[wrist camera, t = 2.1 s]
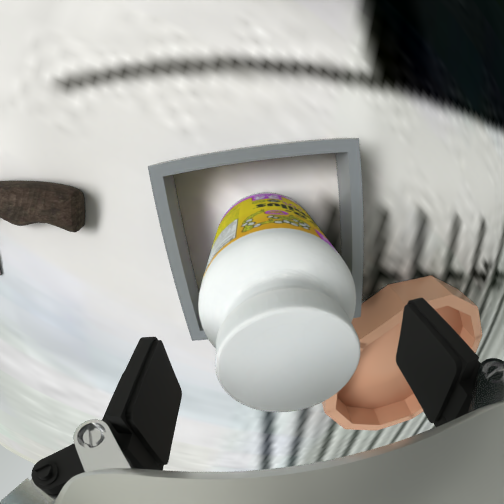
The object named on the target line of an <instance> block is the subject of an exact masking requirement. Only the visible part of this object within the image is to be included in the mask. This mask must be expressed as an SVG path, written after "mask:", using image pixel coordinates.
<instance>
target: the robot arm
mask: <svg viewBox="0 0 504 504" xmlns="http://www.w3.org/2000/svg"><path fill="white" fill-rule="evenodd" d="M478 359H479V357H478V356H477V355H476V354H475V352H474V351H473V350H472V349H471V348H470V347H469V346H468V345H467V343H466V342H465V341H464V340H463V339H462V338H461V337H460V336H459V335H458V334H457V332H456V331H455V330H454V329H453V328H452V327H451V326H450V325H449V324H448V323H447V322H446V321H445V320H444V319H443V318H442V317H441V316H440V315H439V313H438V312H437V311H436V310H435V309H434V308H433V307H432V306H431V305H430V304H429V303H428V302H427V301H426V300H425V299H424V298H417V299H413V300H409V301H408V303H407V305H405V306H404V311H403V318H402V325H401V331H400V337H399V343H398V348H397V353H396V363H397V366H398V367H399V369H400V371H401V372H402V374H403V376H404V377H405V379H406V381H407V383H408V384H409V386H410V388H411V389H412V391H413V393H414V395H415V396H416V398H417V400H418V402H419V404H420V405H421V407H422V409H423V411H424V413H425V414H426V416H427V418H428V420H429V421H430V422H431V423H434V424H435V426H436V427H435V428H433V429H430V430H428V431H425V432H423V433H420V434H418V435H415V436H412V437H410V438H407V439H404V440H401V441H398V442H395V443H392V444H389V445H386V446H383V447H379V448H376V449H372V450H369V451H365V452H361V453H357V454H354V455H349V456H345V457H341V458H336V459H332V460H327V461H322V462H316V463H311V464H305V465H298V466H291V467H283V468H275V469H265V470H253V471H236V472H182V471H164V470H163V466H164V465H166V464H167V463H168V460H169V455H170V450H171V445H172V440H173V435H174V430H175V425H176V421H177V416H178V411H179V407H180V402H181V397H182V391H181V388H180V385H179V383H178V381H177V378H176V376H175V373H174V371H173V368H172V366H171V363H170V361H169V358H168V356H167V353H166V351H165V348H164V345H163V343H162V341H161V340H158V339H157V338H156V337H142V338H141V339H140V340H139V342H138V344H137V346H136V349H135V351H134V353H133V355H132V357H131V359H130V361H129V363H128V365H127V368H126V370H125V372H124V373H123V374H122V377H121V379H120V381H119V383H118V385H117V387H116V390H115V392H114V394H113V396H112V399H111V401H110V403H109V405H108V408H107V410H106V412H105V415H104V417H103V419H102V420H97V419H93V420H88V421H85V422H84V423H82V424H81V425H80V426H79V427H78V428H77V429H76V431H75V432H74V437H73V439H74V444H72V445H70V446H68V447H66V448H64V449H62V450H60V451H58V452H56V453H54V454H52V455H50V456H48V457H46V458H44V459H41V460H40V461H38V462H37V463H36V464H35V465H34V468H33V470H32V479H31V480H29V479H28V478H27V479H26V480H25V481H23V482H22V483H21V484H20V485H19V486H18V487H16V488H15V489H14V490H13V491H12V492H11V493H9V494H8V495H7V496H6V497H5V498H4V499H2V501H1V502H0V504H504V361H502V360H500V359H496V358H490V359H486V360H485V361H483V362H482V363H480V362H479V361H478Z"/></svg>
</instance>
